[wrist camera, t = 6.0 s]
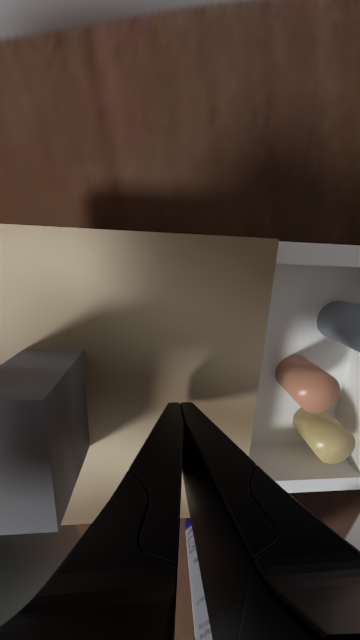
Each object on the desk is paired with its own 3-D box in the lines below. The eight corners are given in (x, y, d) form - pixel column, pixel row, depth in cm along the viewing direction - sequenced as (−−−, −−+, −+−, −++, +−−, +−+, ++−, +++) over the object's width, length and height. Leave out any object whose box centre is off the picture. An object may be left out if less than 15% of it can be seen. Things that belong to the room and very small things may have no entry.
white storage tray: (333, 445, 15) (373, 488, 12) (178, 449, 14) (183, 498, 12) (380, 251, 12) (447, 250, 9) (189, 242, 11) (199, 237, 8)
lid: (235, 497, 12) (270, 608, 8) (19, 508, 11) (-54, 639, 7) (268, 240, 9) (349, 227, 5) (-28, 225, 8) (-197, 195, 4)
